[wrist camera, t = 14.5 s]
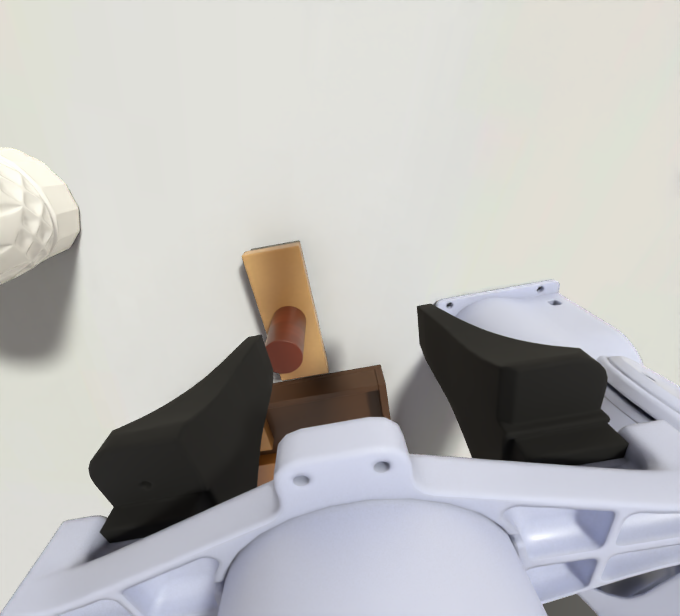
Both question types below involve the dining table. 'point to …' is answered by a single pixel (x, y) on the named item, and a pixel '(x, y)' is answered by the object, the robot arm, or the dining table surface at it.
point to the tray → (326, 401)
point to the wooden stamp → (286, 310)
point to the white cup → (32, 214)
